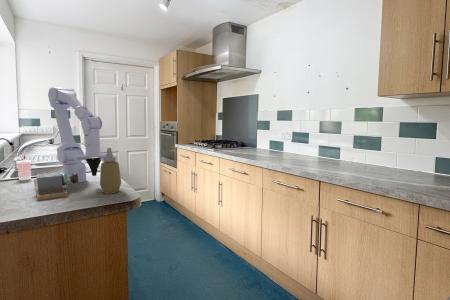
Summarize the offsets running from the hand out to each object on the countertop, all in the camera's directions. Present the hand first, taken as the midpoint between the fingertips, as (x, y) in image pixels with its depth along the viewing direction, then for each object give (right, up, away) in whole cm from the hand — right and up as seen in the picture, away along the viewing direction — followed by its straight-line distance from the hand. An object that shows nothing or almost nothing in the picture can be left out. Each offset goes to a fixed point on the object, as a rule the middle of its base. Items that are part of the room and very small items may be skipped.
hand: (94, 175), depth 118 cm
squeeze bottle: (+11, -6, -8) cm, 15 cm away
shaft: (-11, -4, -8) cm, 14 cm away
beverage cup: (-41, -3, +15) cm, 44 cm away
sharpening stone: (-13, -6, -9) cm, 17 cm away
